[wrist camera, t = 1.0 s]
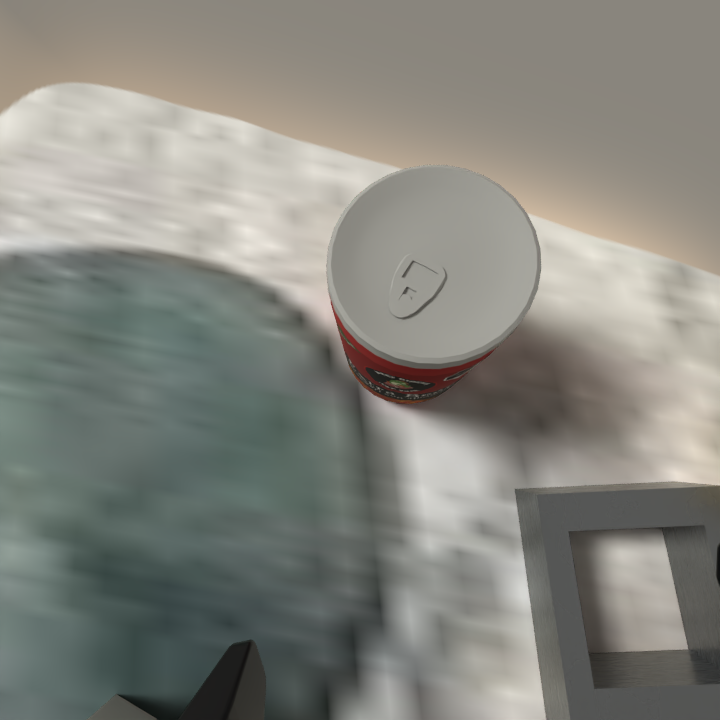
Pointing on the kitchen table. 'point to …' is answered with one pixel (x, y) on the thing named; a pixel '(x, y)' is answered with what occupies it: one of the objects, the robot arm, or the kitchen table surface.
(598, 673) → the grey cinder block
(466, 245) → the canned food
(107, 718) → the game console
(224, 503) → the kitchen table surface
